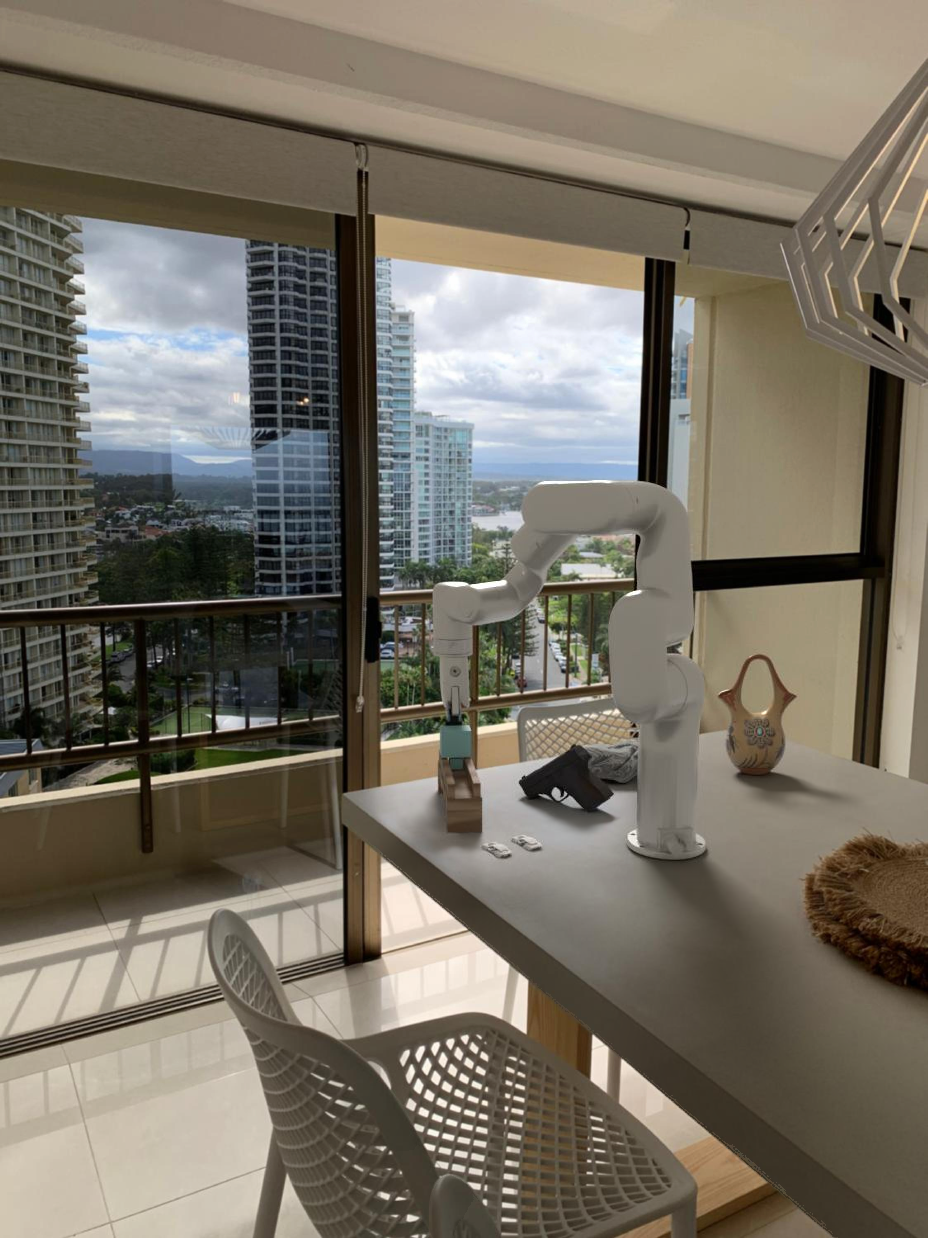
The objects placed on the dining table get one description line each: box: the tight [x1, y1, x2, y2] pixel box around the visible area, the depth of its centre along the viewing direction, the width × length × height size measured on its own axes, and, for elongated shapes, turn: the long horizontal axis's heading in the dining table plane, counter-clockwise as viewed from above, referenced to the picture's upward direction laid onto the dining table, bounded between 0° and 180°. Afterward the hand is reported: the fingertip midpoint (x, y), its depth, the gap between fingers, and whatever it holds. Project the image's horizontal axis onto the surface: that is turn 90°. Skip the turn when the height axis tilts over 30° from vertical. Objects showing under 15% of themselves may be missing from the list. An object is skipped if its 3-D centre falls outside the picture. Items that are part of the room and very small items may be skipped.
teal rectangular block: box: [439, 724, 473, 770], centre depth 173 cm, size 4×6×8 cm
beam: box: [437, 748, 483, 834], centre depth 168 cm, size 24×6×8 cm, turn 5°
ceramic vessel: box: [716, 653, 798, 776], centre depth 189 cm, size 16×9×25 cm, turn 92°
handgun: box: [518, 743, 615, 813], centre depth 171 cm, size 4×16×12 cm
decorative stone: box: [581, 738, 638, 784], centre depth 188 cm, size 15×14×10 cm
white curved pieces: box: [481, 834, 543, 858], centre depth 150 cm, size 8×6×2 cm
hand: (453, 740), depth 178 cm, fingers closed
